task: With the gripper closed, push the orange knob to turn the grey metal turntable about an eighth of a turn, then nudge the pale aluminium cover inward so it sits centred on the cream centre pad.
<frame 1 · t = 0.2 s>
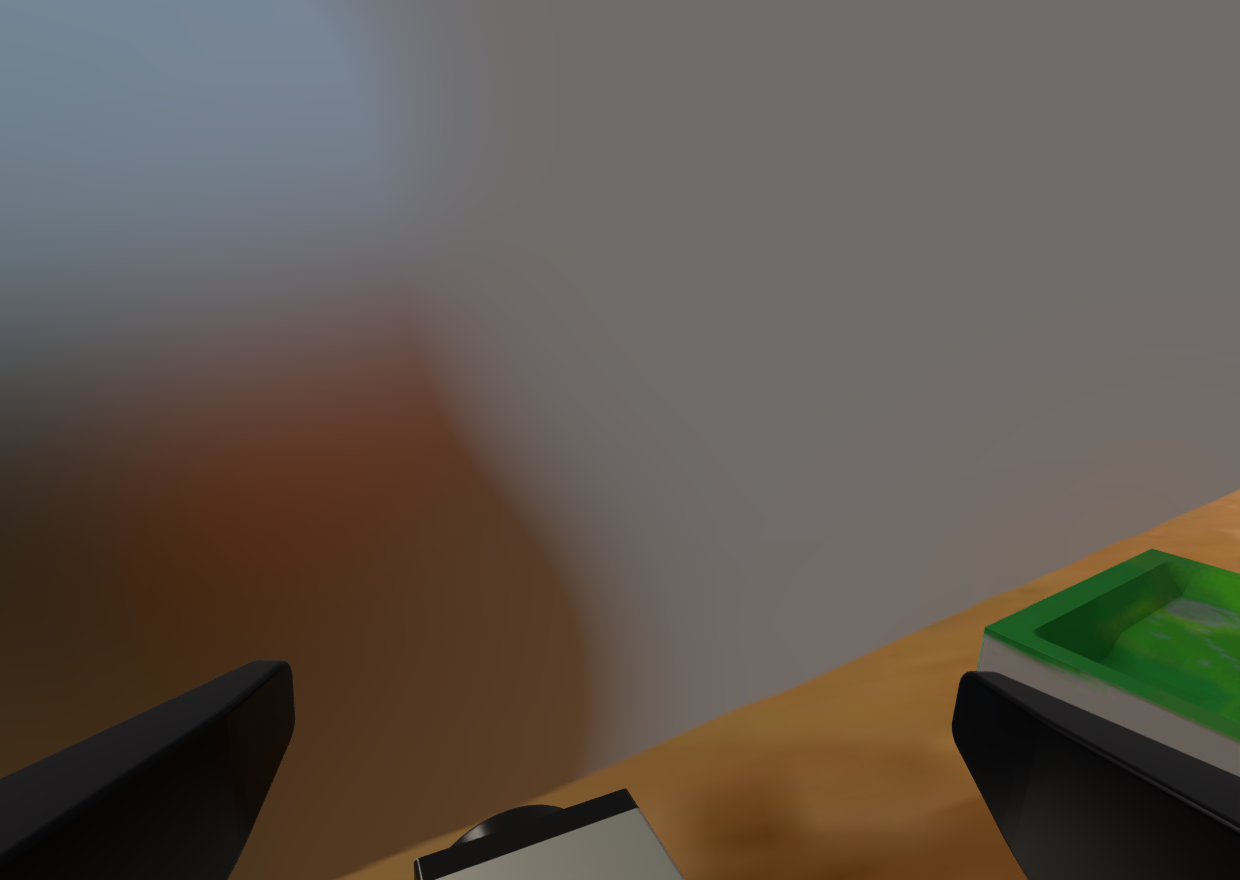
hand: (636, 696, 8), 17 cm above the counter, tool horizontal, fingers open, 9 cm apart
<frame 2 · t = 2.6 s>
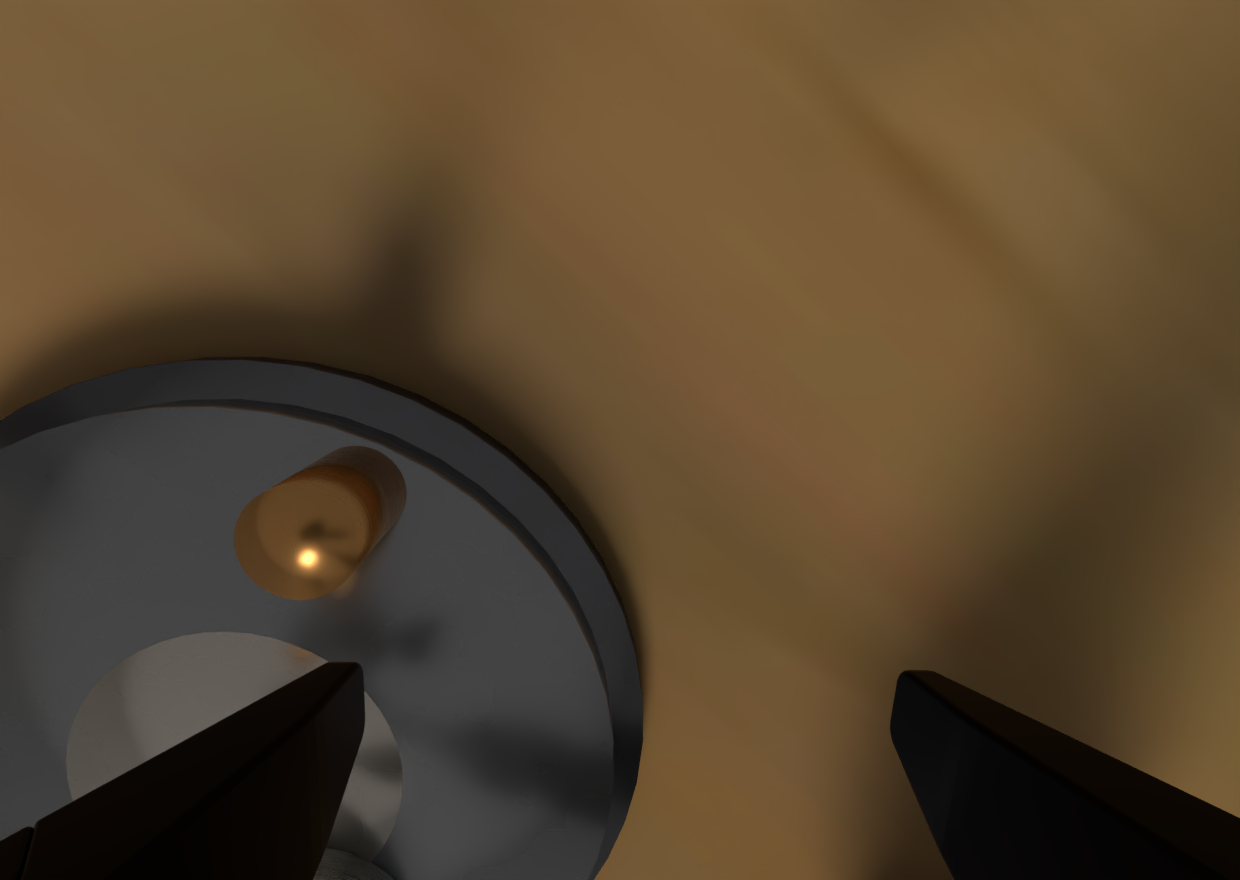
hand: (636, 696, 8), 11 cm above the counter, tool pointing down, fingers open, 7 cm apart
turntable: (216, 809, 17), point 4 cm above the counter, hinge at 0.0°, touching cover
turntable base: (283, 716, 20), on the counter
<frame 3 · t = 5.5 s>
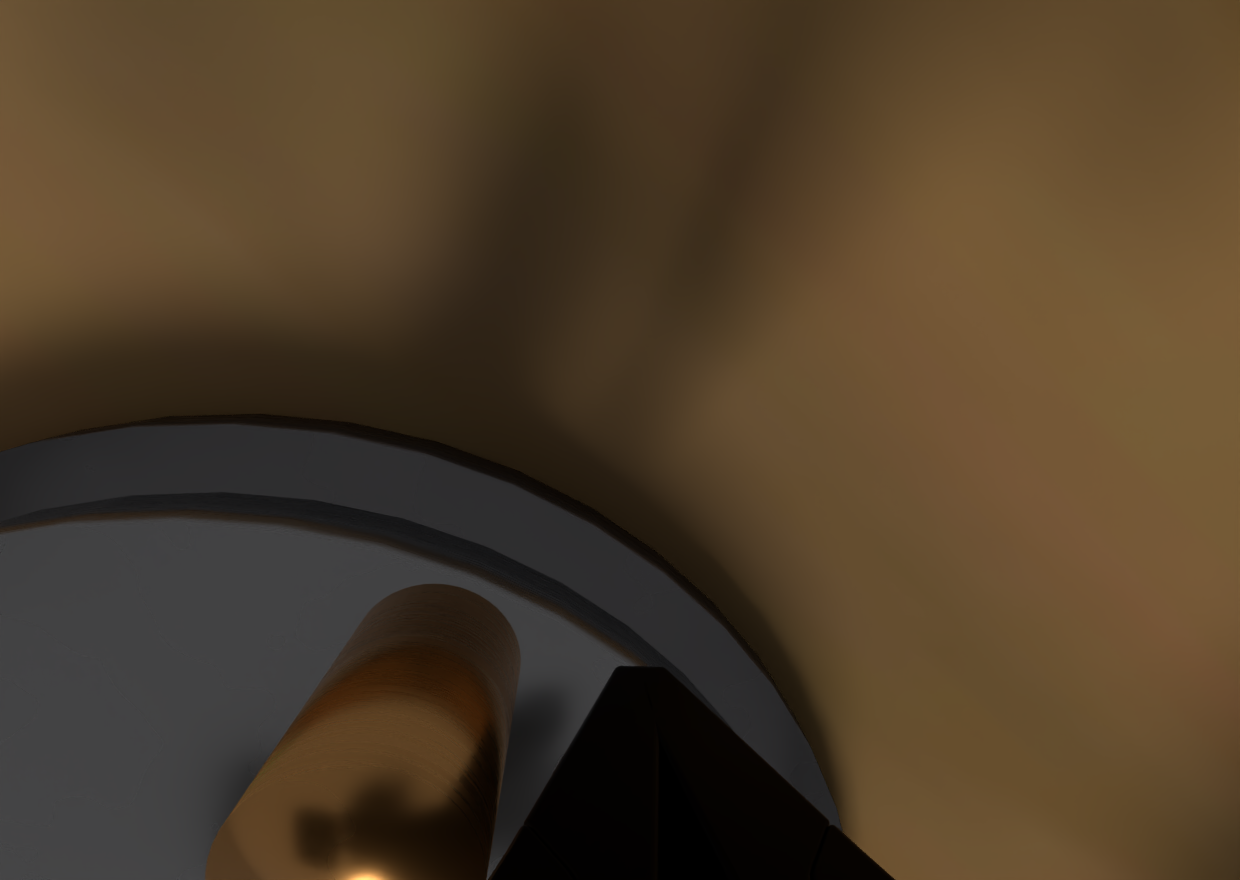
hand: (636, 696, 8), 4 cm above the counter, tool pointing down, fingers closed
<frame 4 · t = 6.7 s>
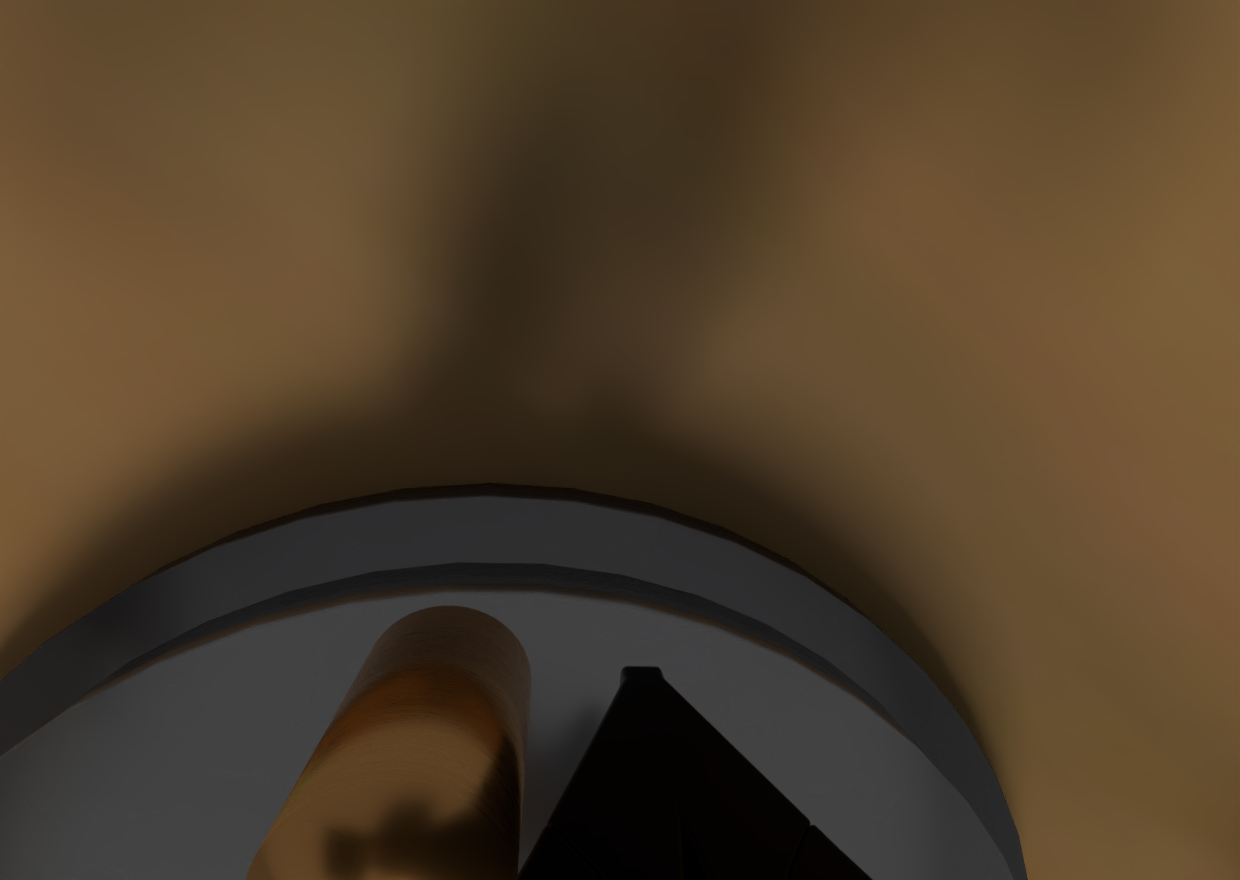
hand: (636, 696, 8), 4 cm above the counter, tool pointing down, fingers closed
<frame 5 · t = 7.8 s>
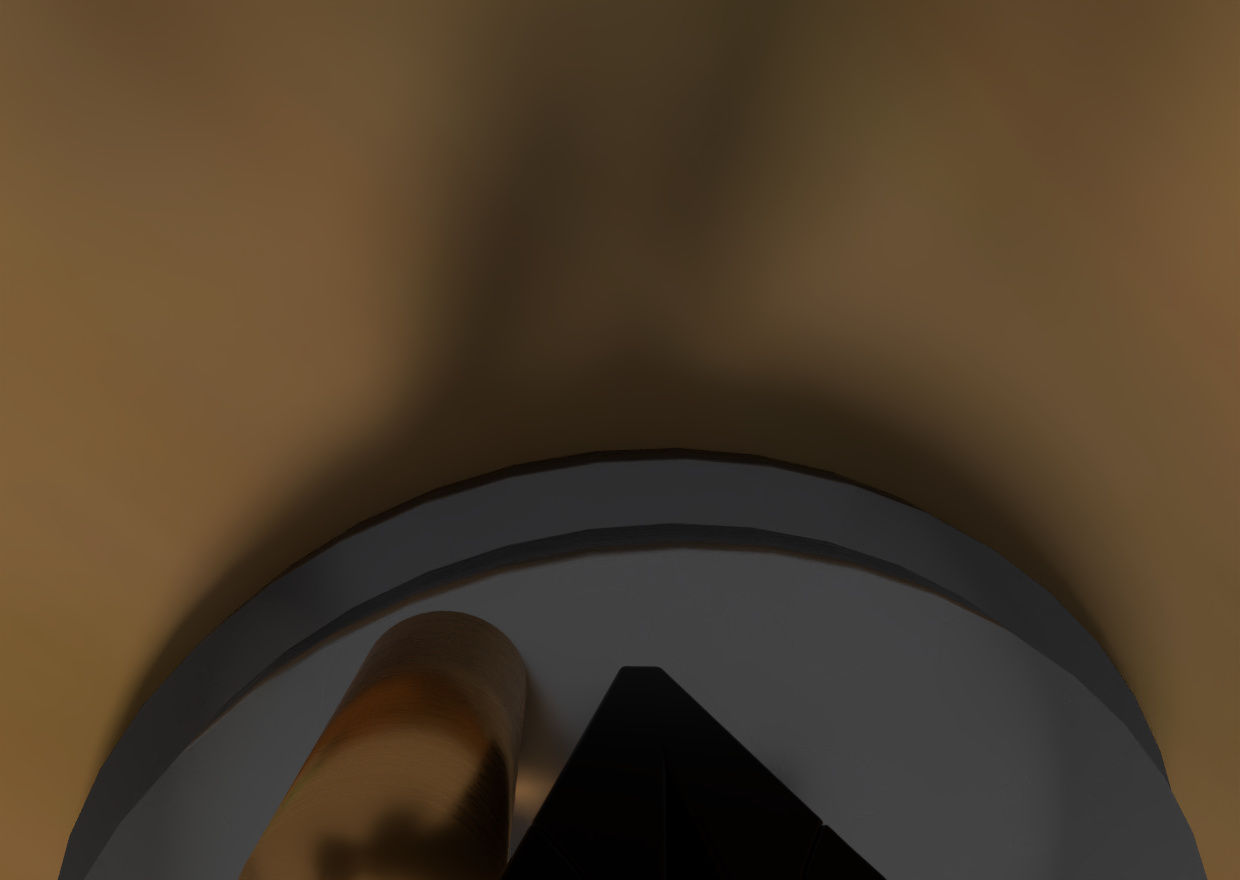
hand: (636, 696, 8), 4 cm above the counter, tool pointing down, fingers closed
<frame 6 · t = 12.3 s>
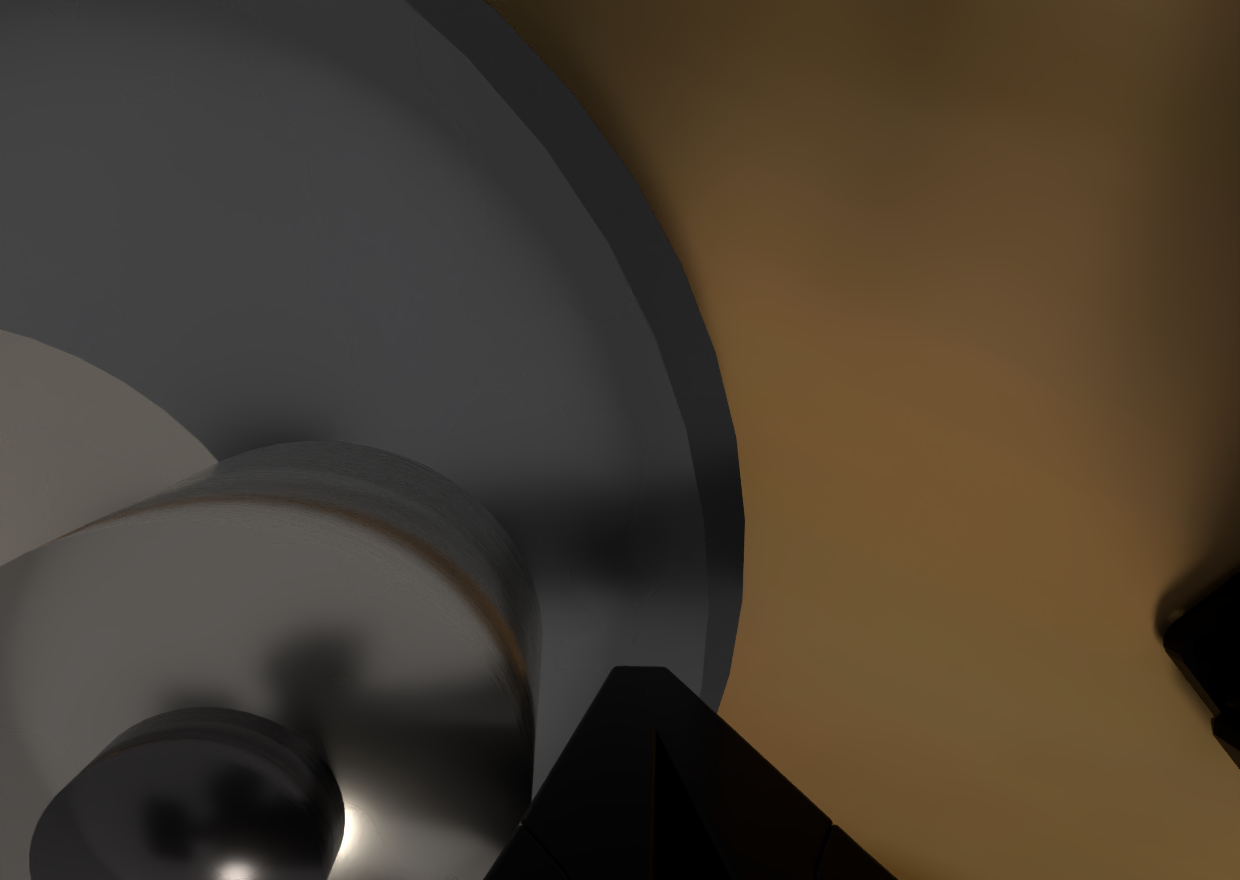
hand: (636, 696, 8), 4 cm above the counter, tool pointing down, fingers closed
cover: (335, 642, 9), point 3 cm above the counter, touching gripper
turntable base: (107, 562, 12), on the counter
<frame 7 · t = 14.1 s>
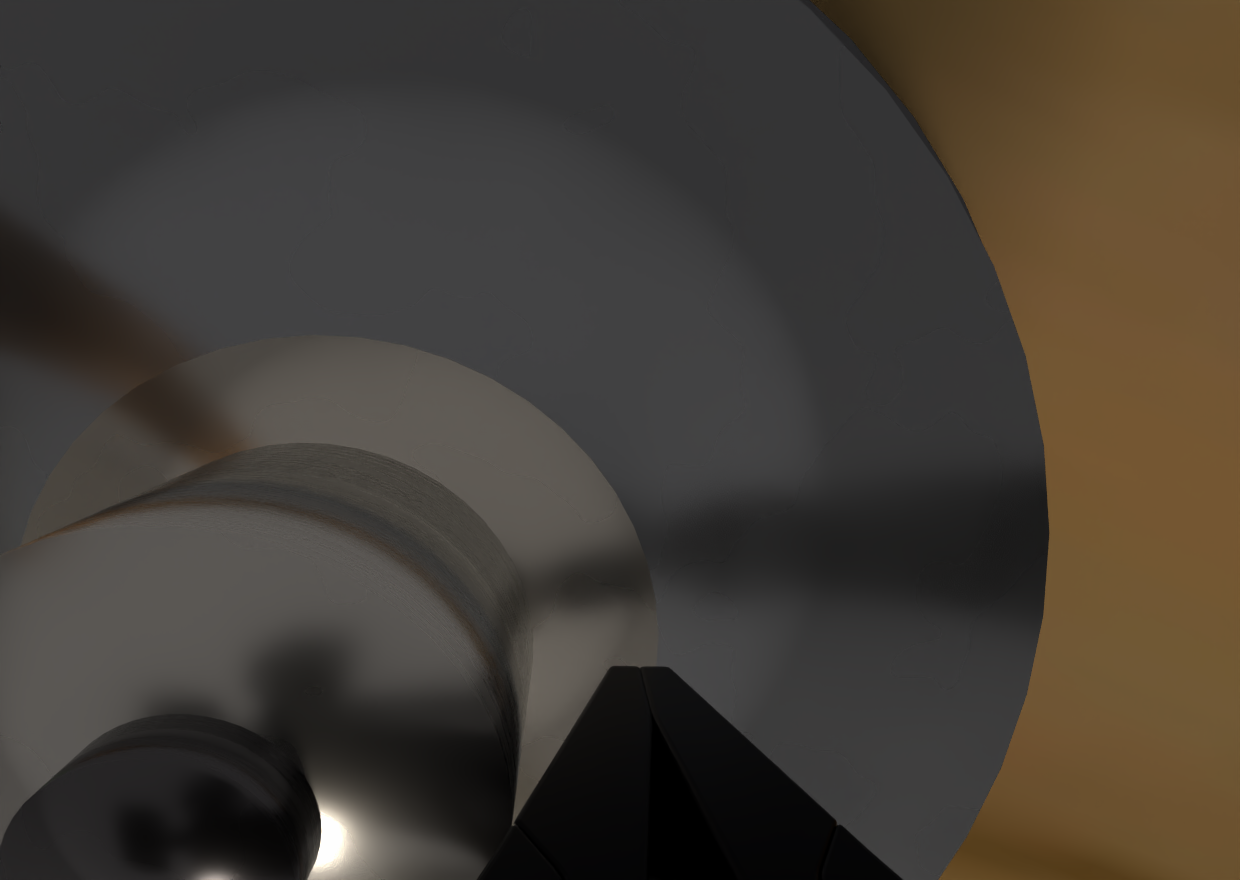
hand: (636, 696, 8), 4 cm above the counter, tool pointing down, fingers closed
cover: (324, 645, 9), point 3 cm above the counter, touching gripper, turntable
turntable: (319, 694, 8), point 4 cm above the counter, hinge at 49.0°, touching cover
turntable base: (400, 570, 12), on the counter
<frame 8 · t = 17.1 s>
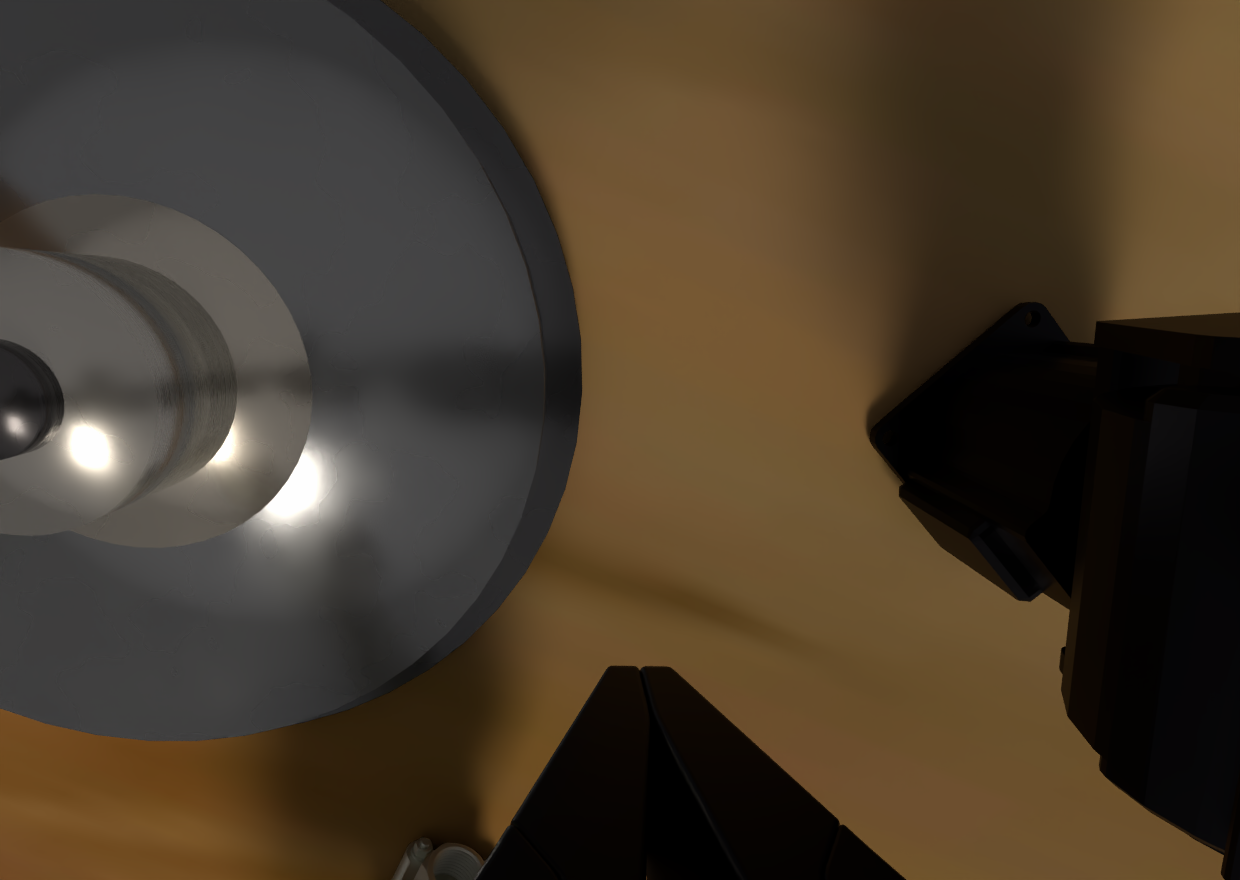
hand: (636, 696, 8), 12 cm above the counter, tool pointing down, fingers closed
cover: (114, 378, 16), point 3 cm above the counter, touching turntable
turntable: (98, 387, 15), point 4 cm above the counter, hinge at 49.0°, touching cover
turntable base: (193, 370, 19), on the counter
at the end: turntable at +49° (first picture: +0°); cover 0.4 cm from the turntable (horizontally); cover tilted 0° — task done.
